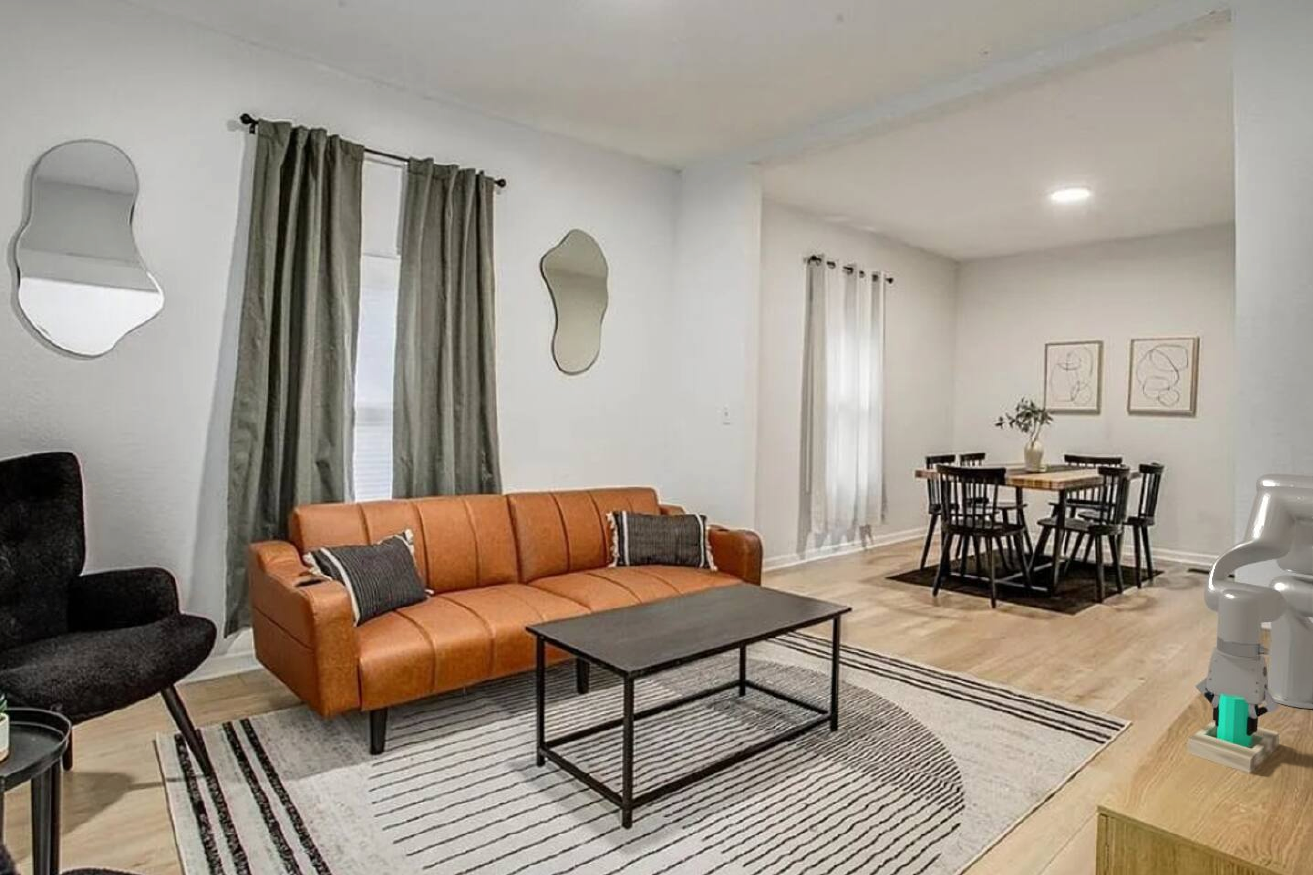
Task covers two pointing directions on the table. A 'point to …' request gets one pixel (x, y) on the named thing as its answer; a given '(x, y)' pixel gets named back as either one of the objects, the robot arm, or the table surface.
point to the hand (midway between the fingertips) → (1234, 728)
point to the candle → (1233, 721)
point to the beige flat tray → (1233, 748)
